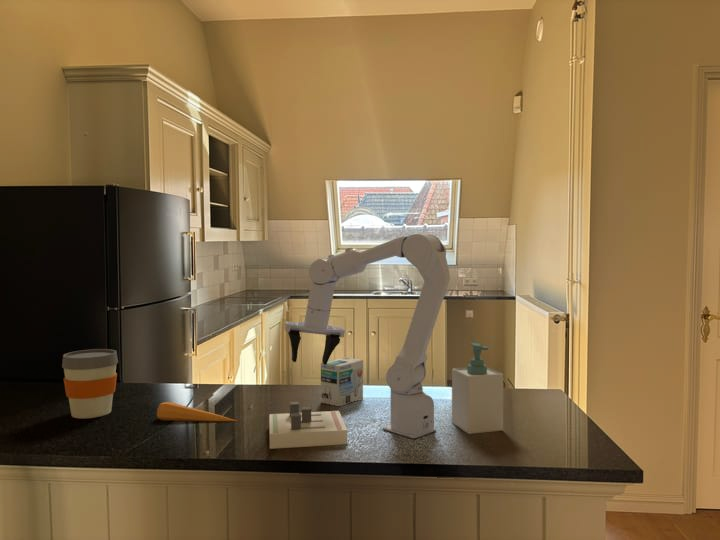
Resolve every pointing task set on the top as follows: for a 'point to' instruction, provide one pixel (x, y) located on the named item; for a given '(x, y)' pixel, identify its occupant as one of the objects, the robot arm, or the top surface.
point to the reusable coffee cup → (90, 381)
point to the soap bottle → (477, 396)
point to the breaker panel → (306, 429)
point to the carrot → (186, 413)
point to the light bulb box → (342, 381)
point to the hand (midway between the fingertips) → (309, 362)
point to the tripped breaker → (306, 414)
